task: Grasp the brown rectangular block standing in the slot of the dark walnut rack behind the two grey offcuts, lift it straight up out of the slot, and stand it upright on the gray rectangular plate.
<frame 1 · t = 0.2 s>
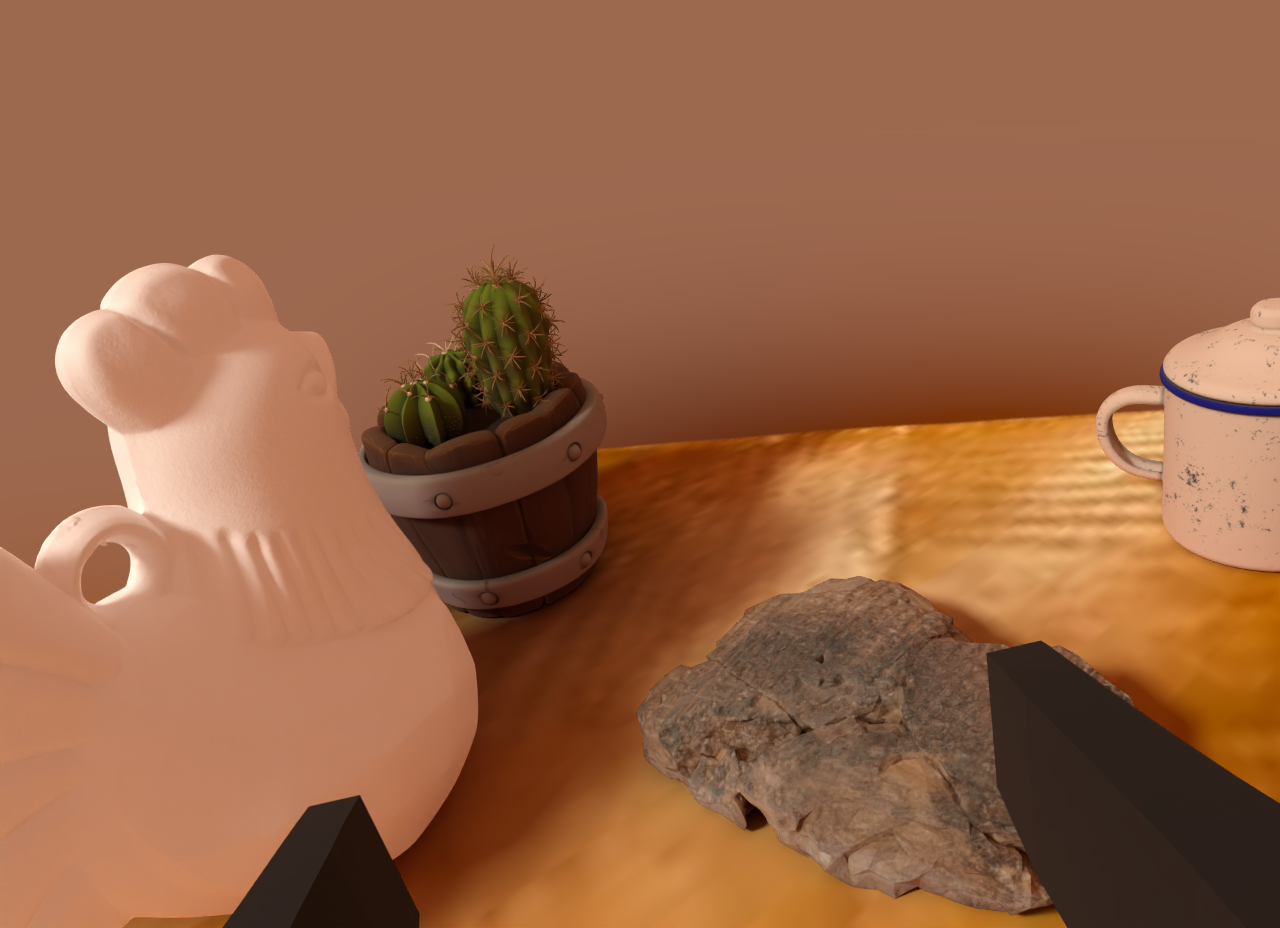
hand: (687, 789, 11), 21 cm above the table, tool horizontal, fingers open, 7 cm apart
flowerpot: (525, 575, 59), on the table
white sculpture: (261, 873, 41), on the table
teacup with lid: (1226, 526, 48), on the table
clay tablet: (914, 772, 38), on the table
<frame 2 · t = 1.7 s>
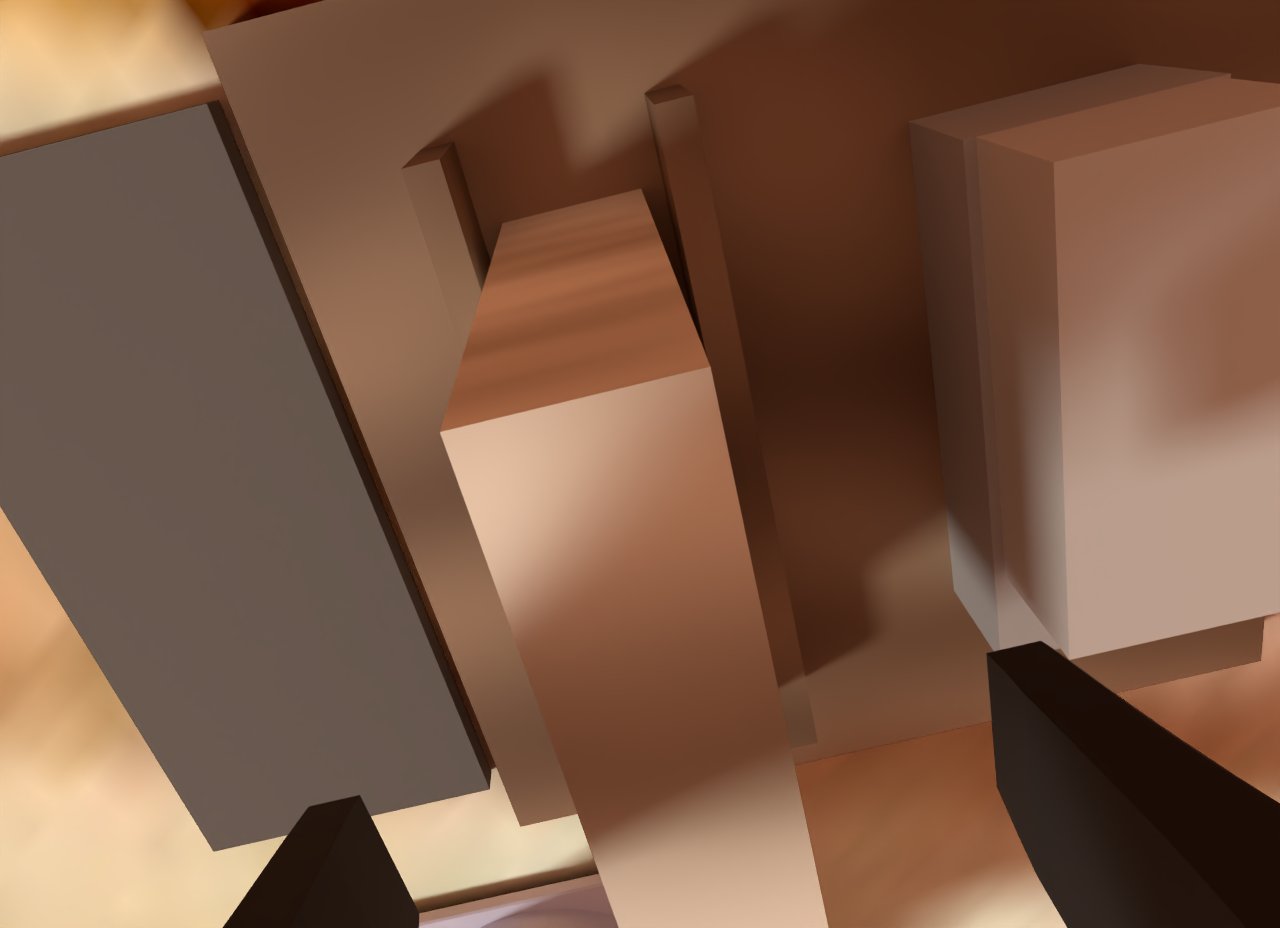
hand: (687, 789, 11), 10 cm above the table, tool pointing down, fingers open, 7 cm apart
upper offcut: (1099, 355, 16), point 3 cm above the table, touching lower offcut
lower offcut: (1034, 359, 18), point 1 cm above the table, touching upper offcut, walnut rack
walnut rack: (821, 389, 19), on the table
brown rectangular block: (636, 455, 19), point 1 cm above the table, touching walnut rack
gray rectangular plate: (220, 533, 20), on the table
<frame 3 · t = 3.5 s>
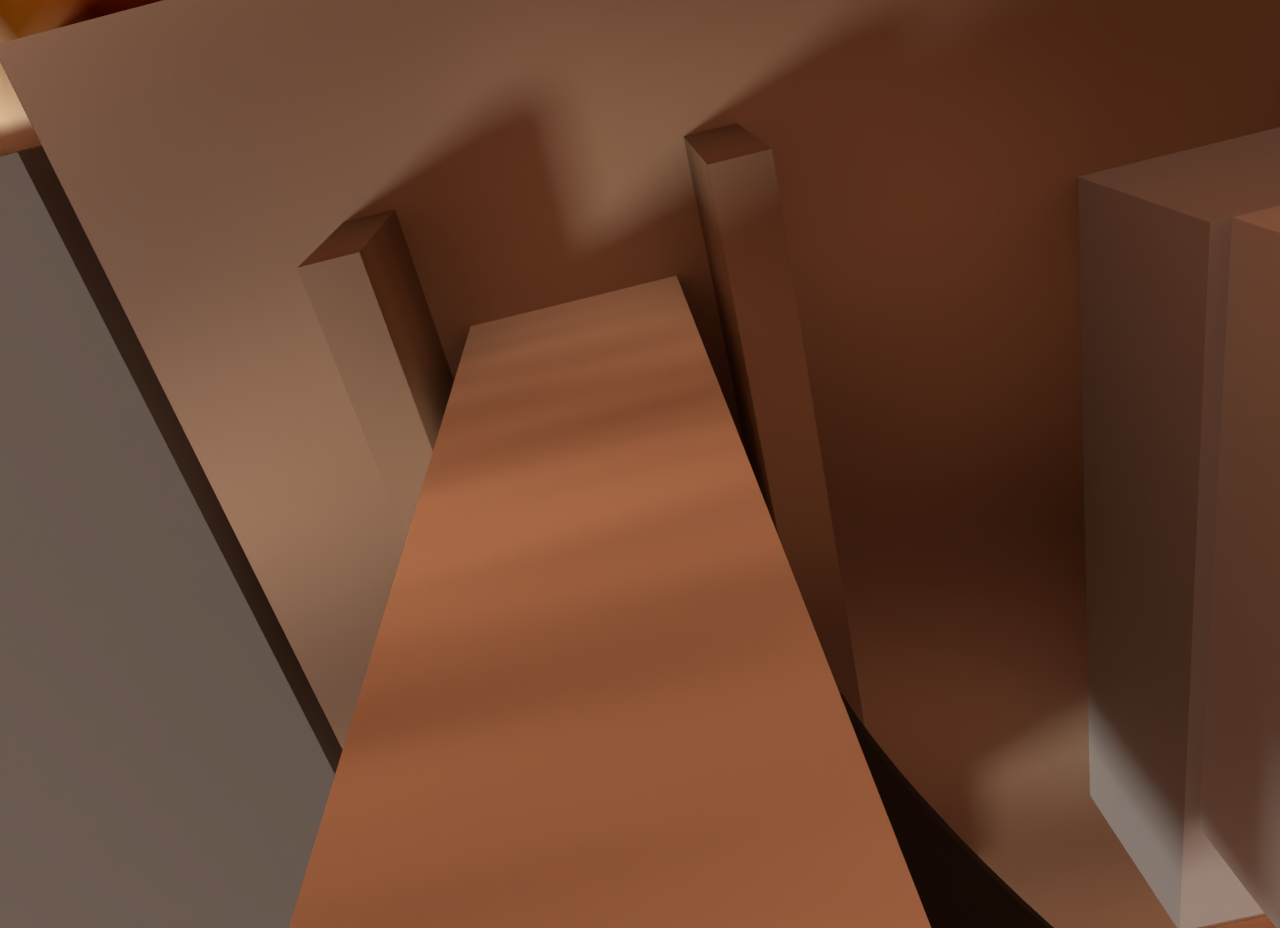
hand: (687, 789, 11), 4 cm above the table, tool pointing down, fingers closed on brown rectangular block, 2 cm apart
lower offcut: (1228, 505, 13), point 1 cm above the table, touching upper offcut, walnut rack
walnut rack: (919, 534, 14), on the table
brown rectangular block: (663, 635, 13), point 1 cm above the table, touching gripper, walnut rack
gray rectangular plate: (91, 726, 15), on the table
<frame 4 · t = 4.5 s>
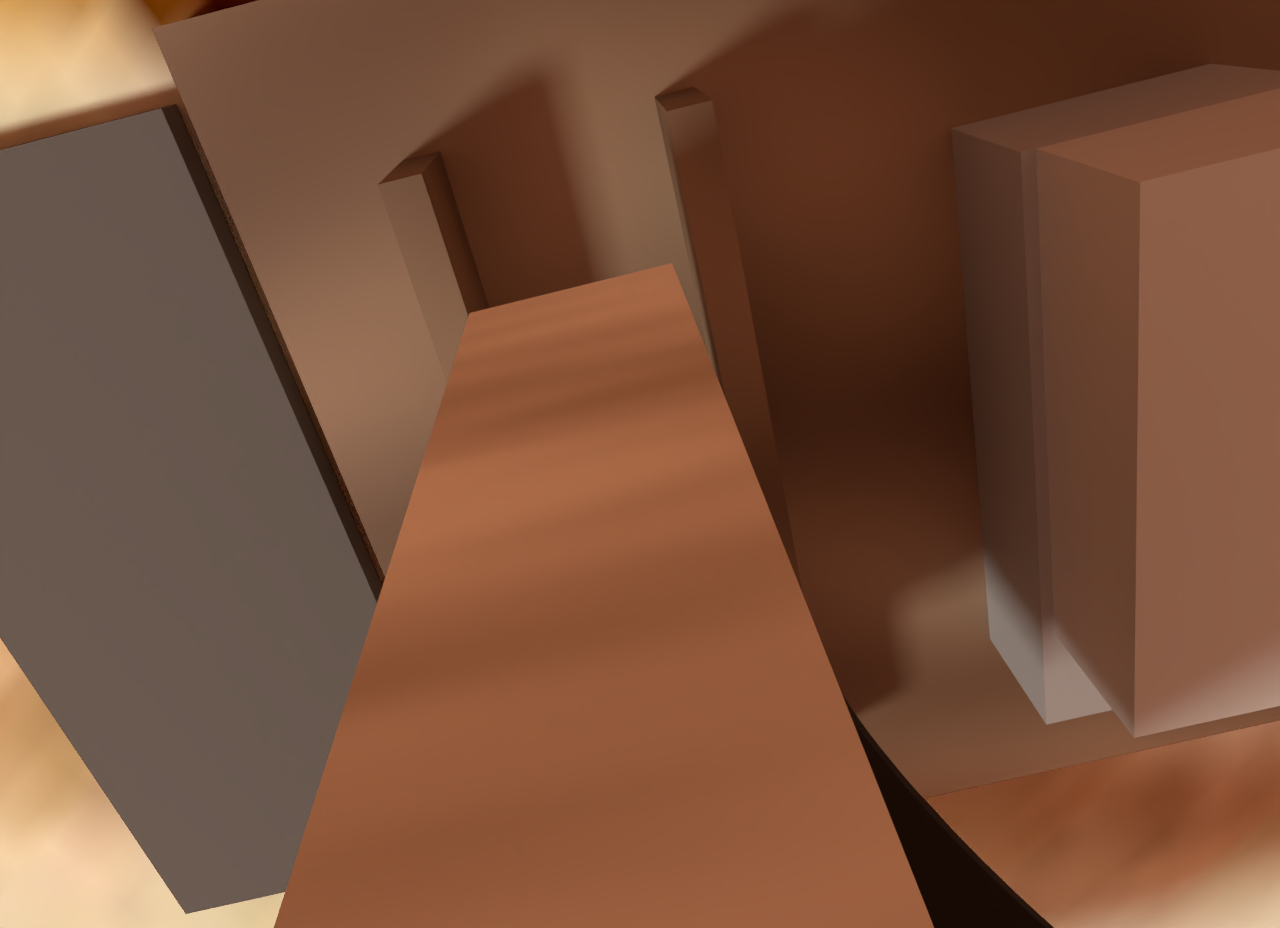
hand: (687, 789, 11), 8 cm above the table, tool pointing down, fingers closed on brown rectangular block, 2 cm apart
upper offcut: (1166, 393, 14), point 3 cm above the table, touching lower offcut
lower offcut: (1085, 391, 17), point 1 cm above the table, touching upper offcut, walnut rack
walnut rack: (847, 421, 18), on the table
brown rectangular block: (660, 620, 13), point 5 cm above the table, touching gripper
gray rectangular plate: (187, 577, 18), on the table
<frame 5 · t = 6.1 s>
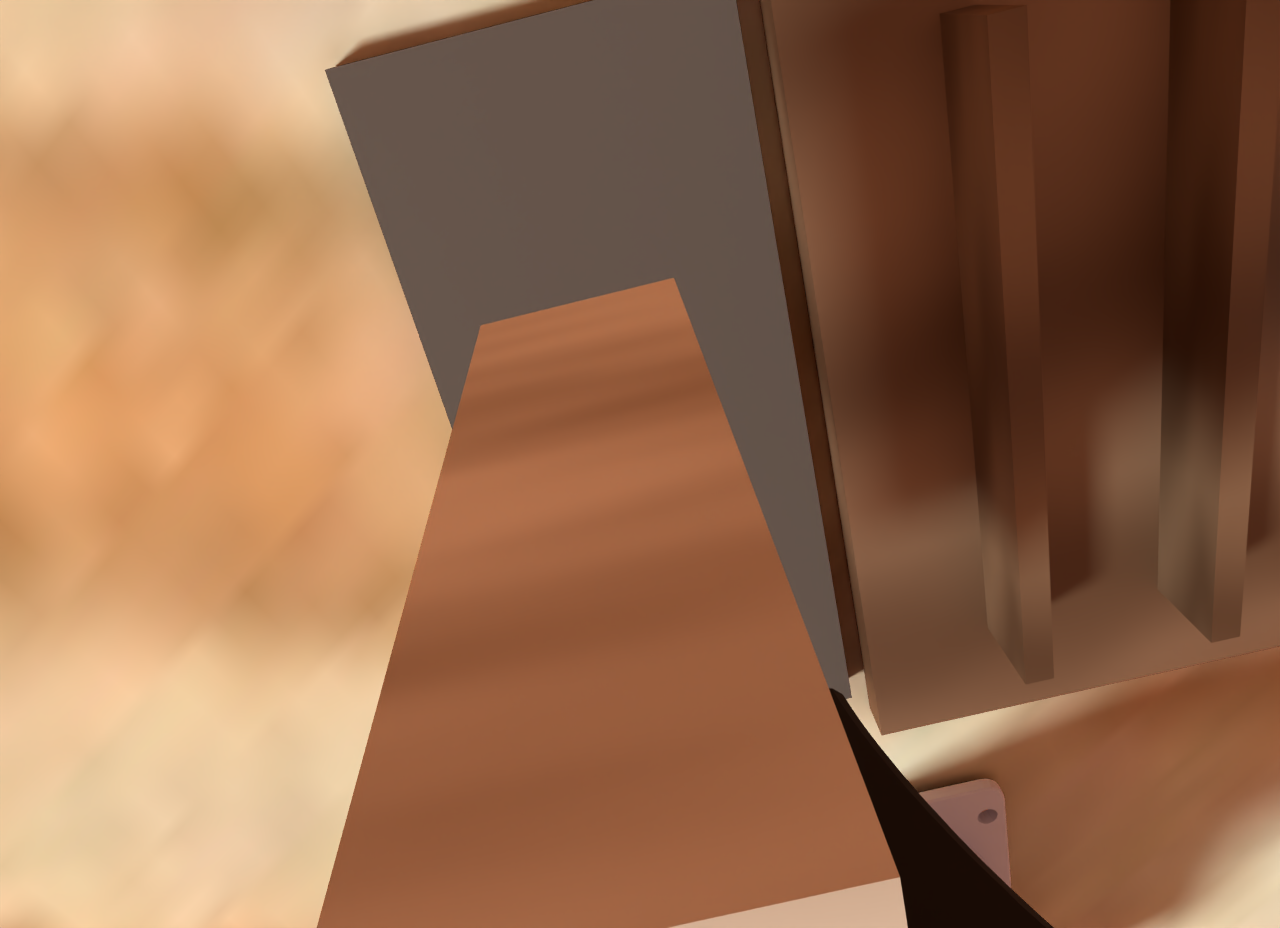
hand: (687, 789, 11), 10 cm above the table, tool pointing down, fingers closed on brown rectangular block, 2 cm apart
walnut rack: (1250, 279, 19), on the table
brown rectangular block: (662, 618, 14), point 7 cm above the table, touching gripper
gray rectangular plate: (632, 427, 20), on the table
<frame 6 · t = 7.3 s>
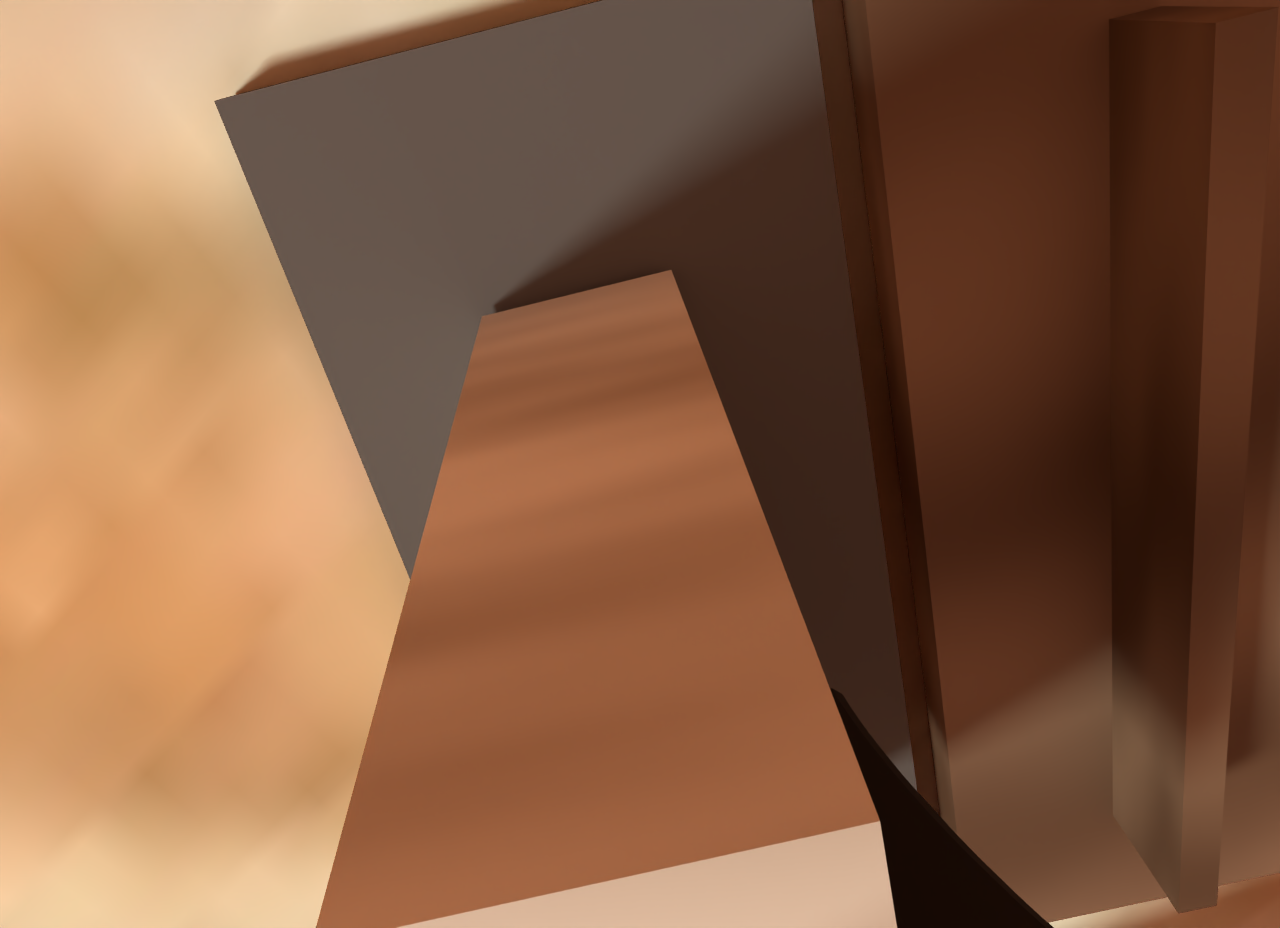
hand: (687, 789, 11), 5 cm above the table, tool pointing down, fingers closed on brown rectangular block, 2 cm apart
brown rectangular block: (660, 605, 14), point 1 cm above the table, touching gripper
gray rectangular plate: (654, 568, 15), on the table
when the fingers open (5 cm above the table, at t = 8.0 s): brown rectangular block stays where it is, resting on gray rectangular plate.
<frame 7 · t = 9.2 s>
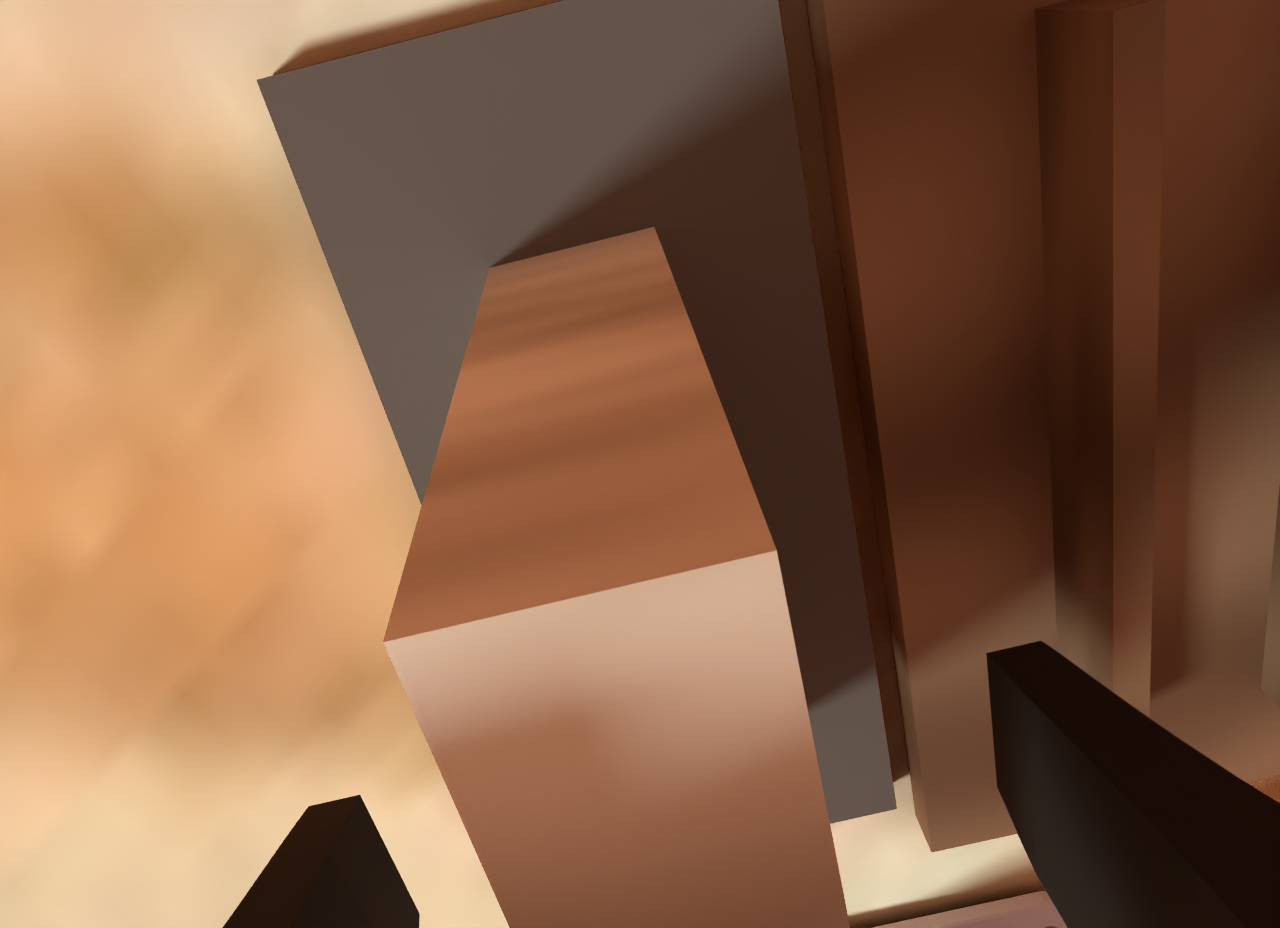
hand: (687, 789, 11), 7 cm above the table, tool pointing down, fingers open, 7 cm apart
brown rectangular block: (647, 531, 16), point 1 cm above the table, touching gray rectangular plate
gray rectangular plate: (642, 505, 17), on the table
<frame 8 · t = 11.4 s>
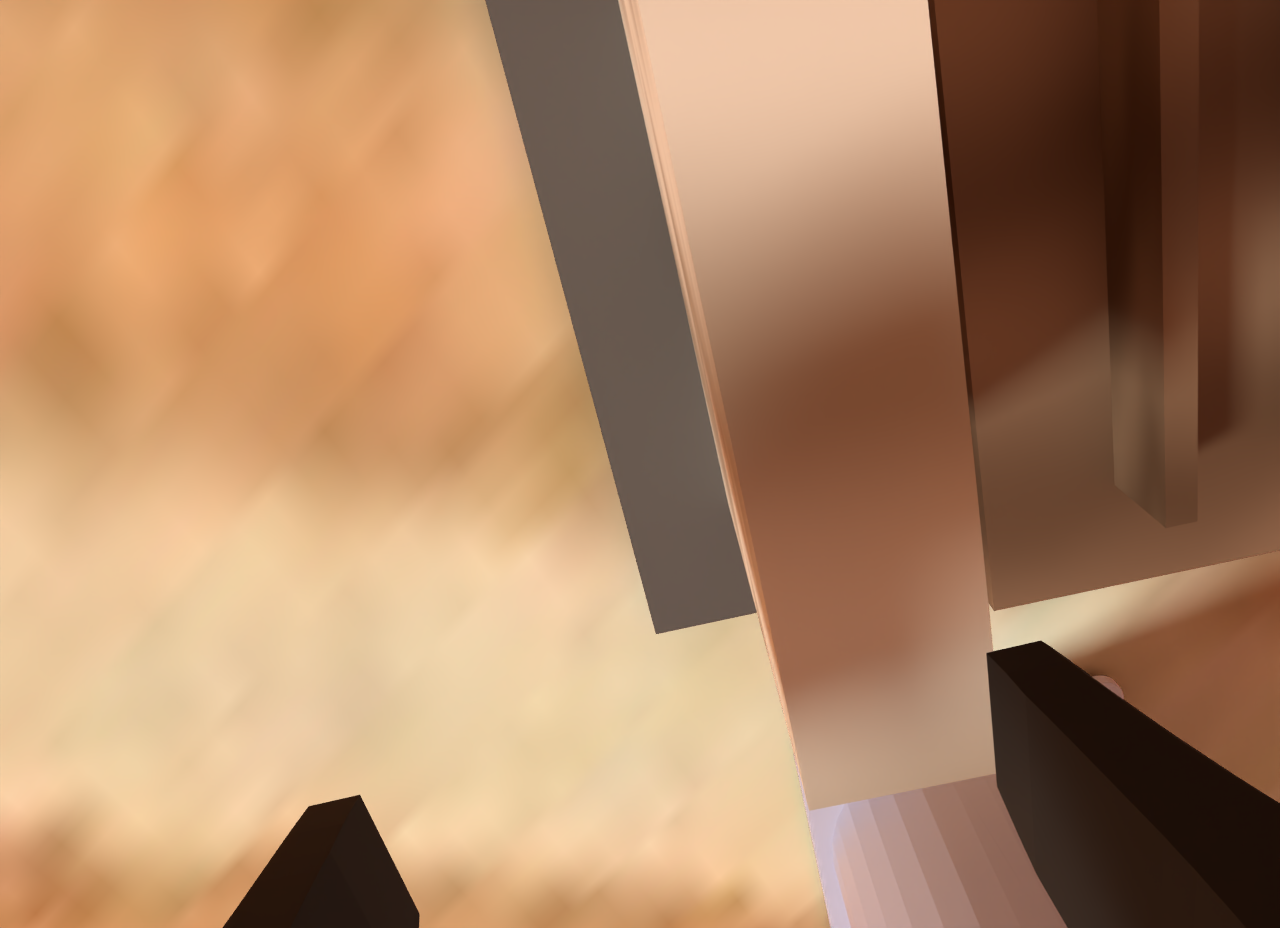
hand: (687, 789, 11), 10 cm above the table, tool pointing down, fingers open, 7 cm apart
brown rectangular block: (742, 263, 18), point 1 cm above the table, touching gray rectangular plate
gray rectangular plate: (737, 249, 19), on the table
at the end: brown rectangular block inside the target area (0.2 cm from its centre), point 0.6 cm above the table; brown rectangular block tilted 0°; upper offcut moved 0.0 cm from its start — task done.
